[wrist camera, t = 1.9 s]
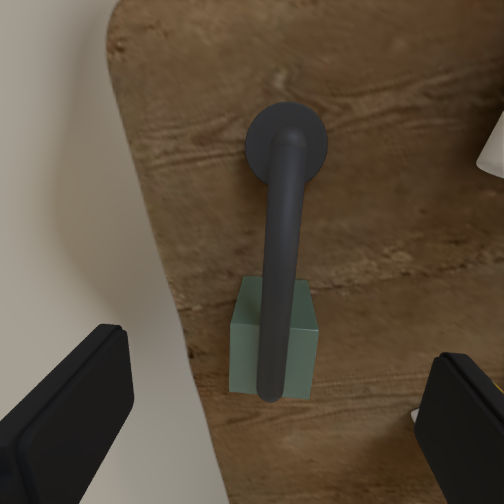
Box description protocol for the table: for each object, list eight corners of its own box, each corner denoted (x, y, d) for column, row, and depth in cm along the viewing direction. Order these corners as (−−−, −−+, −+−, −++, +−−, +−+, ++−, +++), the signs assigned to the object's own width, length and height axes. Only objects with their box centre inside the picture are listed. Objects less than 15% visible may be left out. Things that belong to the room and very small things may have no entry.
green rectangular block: (243, 275, 23) (230, 323, 17) (307, 279, 23) (319, 330, 16) (241, 329, 25) (228, 392, 18) (301, 334, 24) (309, 400, 18)
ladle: (249, 104, 19) (229, 73, 11) (328, 107, 19) (364, 77, 11) (241, 322, 24) (224, 404, 17) (302, 327, 24) (313, 413, 16)
